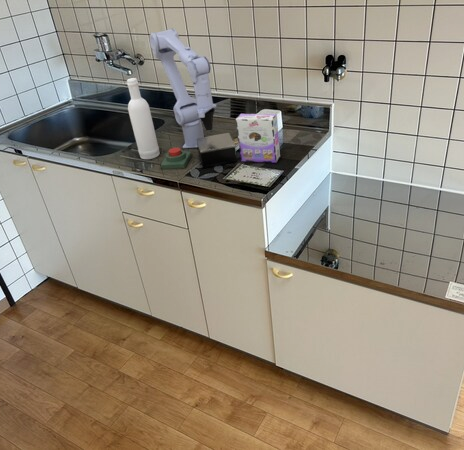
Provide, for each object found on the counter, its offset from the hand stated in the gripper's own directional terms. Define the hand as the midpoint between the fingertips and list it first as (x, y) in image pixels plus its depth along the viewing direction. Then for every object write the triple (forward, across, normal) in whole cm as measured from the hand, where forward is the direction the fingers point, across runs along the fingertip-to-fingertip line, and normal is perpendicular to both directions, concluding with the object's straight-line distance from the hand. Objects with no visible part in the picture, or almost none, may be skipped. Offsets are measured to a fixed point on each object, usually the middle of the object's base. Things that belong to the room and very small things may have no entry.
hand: (209, 129), depth 173 cm
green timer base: (+10, -5, +13) cm, 17 cm away
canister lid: (+4, -4, -2) cm, 6 cm away
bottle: (+10, +2, +26) cm, 28 cm away
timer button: (+7, -5, +13) cm, 16 cm away
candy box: (+11, -5, -19) cm, 22 cm away
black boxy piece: (+10, -3, -2) cm, 11 cm away
